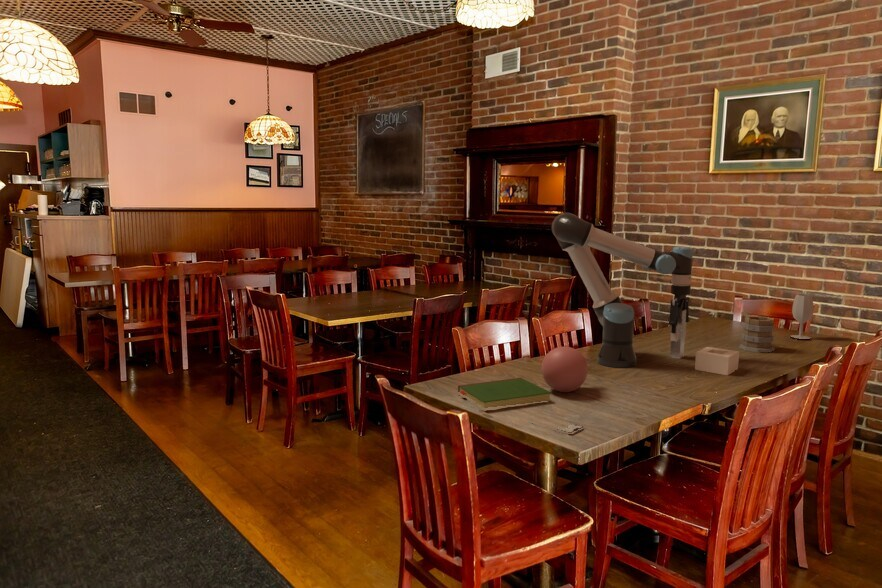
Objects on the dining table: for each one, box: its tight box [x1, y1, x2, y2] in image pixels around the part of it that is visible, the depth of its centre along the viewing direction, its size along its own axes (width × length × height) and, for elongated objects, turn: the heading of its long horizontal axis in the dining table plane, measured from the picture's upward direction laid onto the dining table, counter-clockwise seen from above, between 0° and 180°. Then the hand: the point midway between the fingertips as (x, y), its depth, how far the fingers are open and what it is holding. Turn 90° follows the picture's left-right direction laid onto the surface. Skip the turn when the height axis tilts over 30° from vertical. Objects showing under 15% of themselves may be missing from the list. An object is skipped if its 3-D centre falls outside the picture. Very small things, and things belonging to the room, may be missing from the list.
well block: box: [694, 346, 740, 376], centre depth 239 cm, size 12×12×7 cm
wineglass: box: [790, 293, 815, 340], centre depth 293 cm, size 9×9×21 cm
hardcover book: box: [457, 377, 552, 408], centre depth 203 cm, size 25×19×4 cm
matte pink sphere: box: [541, 346, 591, 393], centre depth 212 cm, size 15×20×15 cm
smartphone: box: [557, 422, 584, 433], centre depth 179 cm, size 7×1×15 cm
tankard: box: [739, 311, 775, 353], centre depth 275 cm, size 20×13×15 cm, turn 179°
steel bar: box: [669, 309, 687, 360], centre depth 257 cm, size 4×4×20 cm
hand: (677, 339), depth 258 cm, fingers open, 8 cm apart
